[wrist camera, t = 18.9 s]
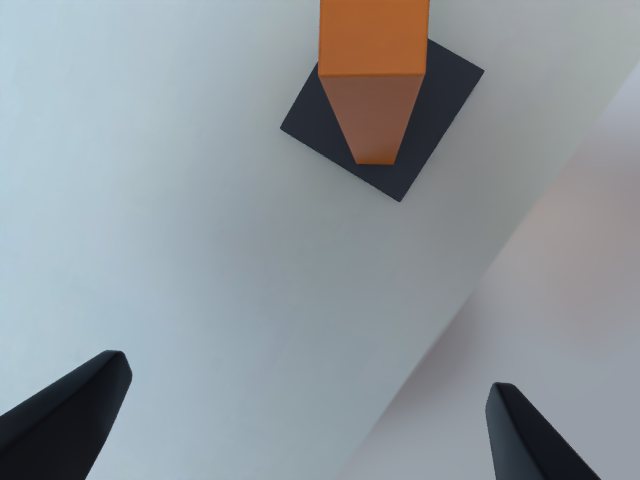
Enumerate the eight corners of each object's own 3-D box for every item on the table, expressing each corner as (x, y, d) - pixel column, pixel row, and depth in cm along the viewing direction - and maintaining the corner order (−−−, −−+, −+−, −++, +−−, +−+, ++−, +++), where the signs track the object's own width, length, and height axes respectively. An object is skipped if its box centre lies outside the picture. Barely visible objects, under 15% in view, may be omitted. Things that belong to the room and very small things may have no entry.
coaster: (482, 73, 17) (485, 70, 17) (399, 202, 18) (400, 202, 18) (355, 1, 18) (354, -4, 18) (281, 129, 19) (279, 127, 19)
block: (400, 34, 17) (448, -337, 6) (393, 164, 18) (425, 74, 6) (361, 35, 18) (329, -317, 6) (356, 164, 18) (317, 76, 6)
